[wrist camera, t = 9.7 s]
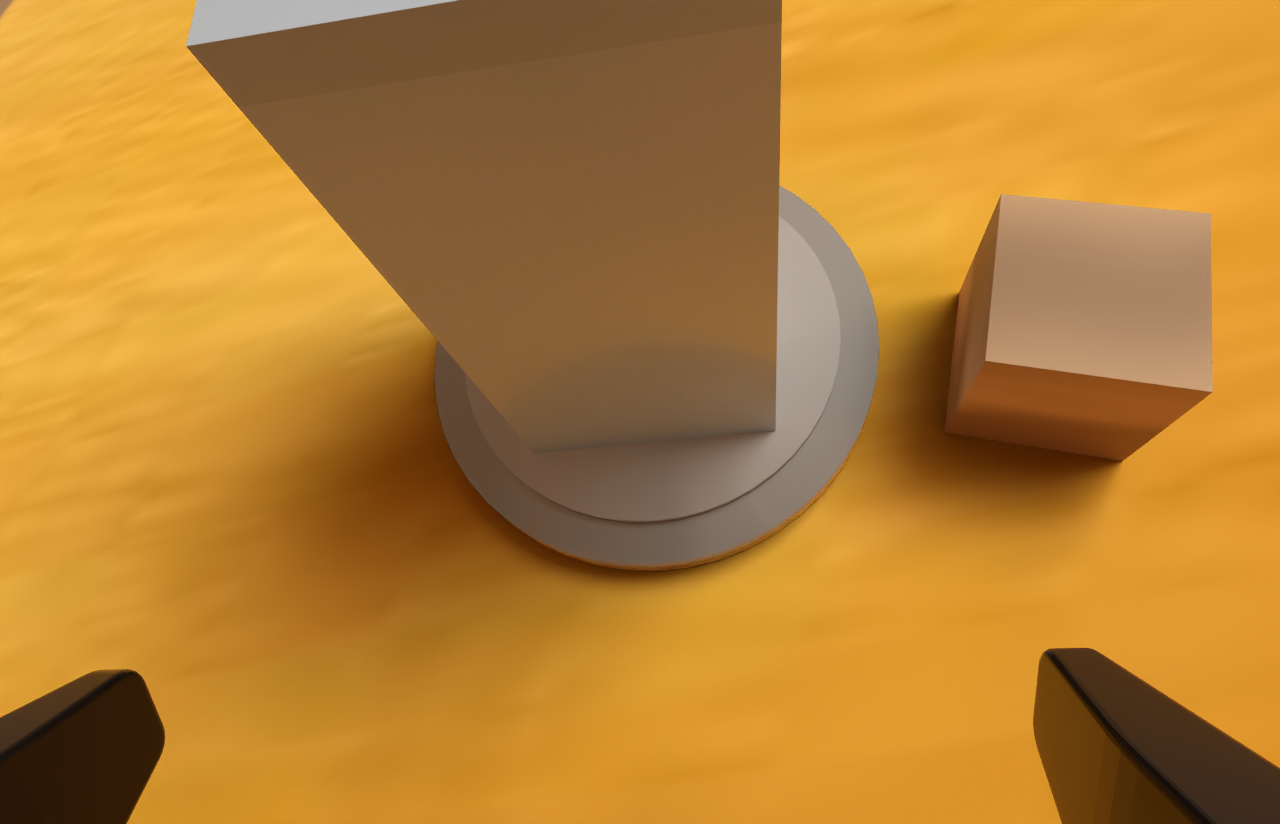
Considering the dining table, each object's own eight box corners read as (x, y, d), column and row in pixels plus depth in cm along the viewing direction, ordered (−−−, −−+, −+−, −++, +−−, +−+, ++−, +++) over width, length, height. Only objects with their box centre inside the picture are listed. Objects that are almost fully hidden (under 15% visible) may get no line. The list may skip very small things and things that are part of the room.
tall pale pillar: (775, 431, 18) (781, -55, 7) (534, 453, 18) (185, 46, 8) (751, 223, 20) (727, -402, 9) (536, 250, 21) (267, -299, 10)
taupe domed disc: (492, 631, 18) (474, 625, 17) (417, 253, 23) (399, 228, 22) (950, 487, 18) (962, 471, 17) (784, 130, 22) (785, 99, 21)
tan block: (1121, 462, 18) (1212, 392, 14) (943, 433, 19) (985, 360, 15) (1125, 313, 19) (1210, 213, 15) (959, 293, 20) (1001, 193, 16)
